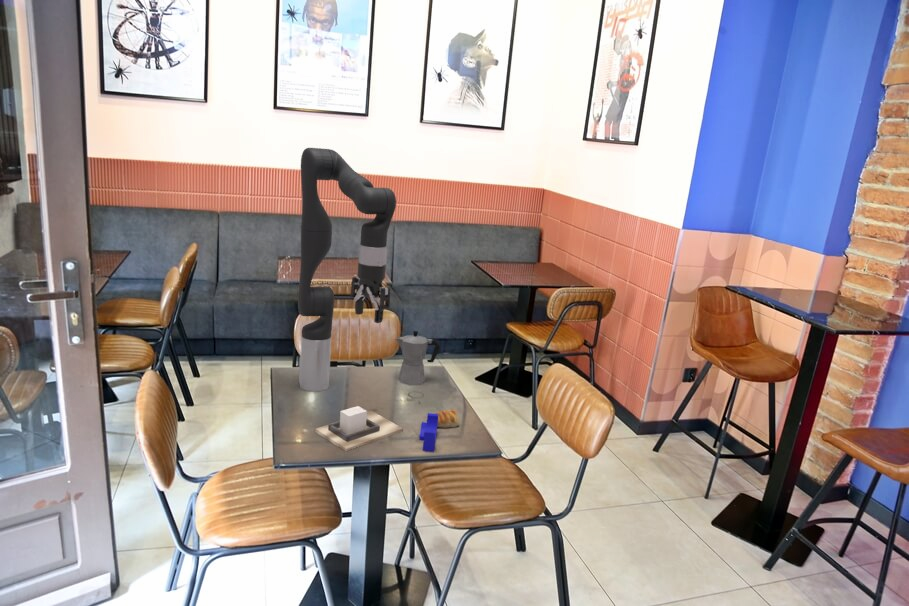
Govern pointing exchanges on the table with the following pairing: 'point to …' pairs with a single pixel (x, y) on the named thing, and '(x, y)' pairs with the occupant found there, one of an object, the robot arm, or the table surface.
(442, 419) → the pastry
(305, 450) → the table surface
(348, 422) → the keyed plug
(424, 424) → the cable clip
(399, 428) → the board
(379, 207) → the robot arm
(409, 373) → the coffeepot
